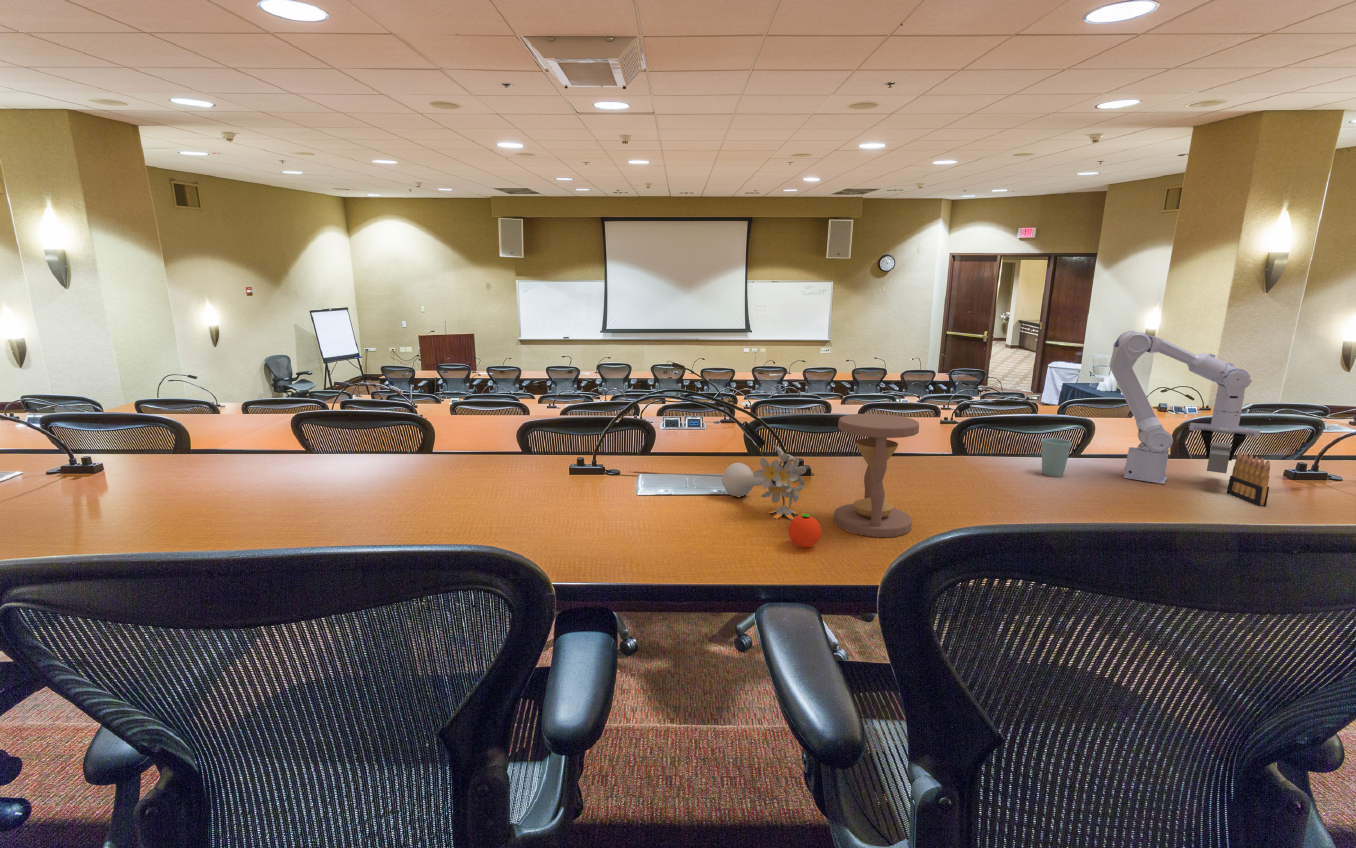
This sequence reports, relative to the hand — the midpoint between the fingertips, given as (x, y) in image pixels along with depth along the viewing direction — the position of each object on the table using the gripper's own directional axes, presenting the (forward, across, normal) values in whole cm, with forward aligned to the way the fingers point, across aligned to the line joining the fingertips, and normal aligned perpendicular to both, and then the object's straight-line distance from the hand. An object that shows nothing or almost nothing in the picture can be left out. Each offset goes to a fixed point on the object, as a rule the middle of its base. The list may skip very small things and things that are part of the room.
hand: (1218, 458), depth 169 cm
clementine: (+8, -64, -116) cm, 132 cm away
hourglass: (+8, -58, -94) cm, 111 cm away
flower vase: (+8, -86, -100) cm, 132 cm away
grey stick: (+2, 0, 0) cm, 2 cm away
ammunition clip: (+8, +7, -10) cm, 15 cm away
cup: (+8, -36, -18) cm, 41 cm away
